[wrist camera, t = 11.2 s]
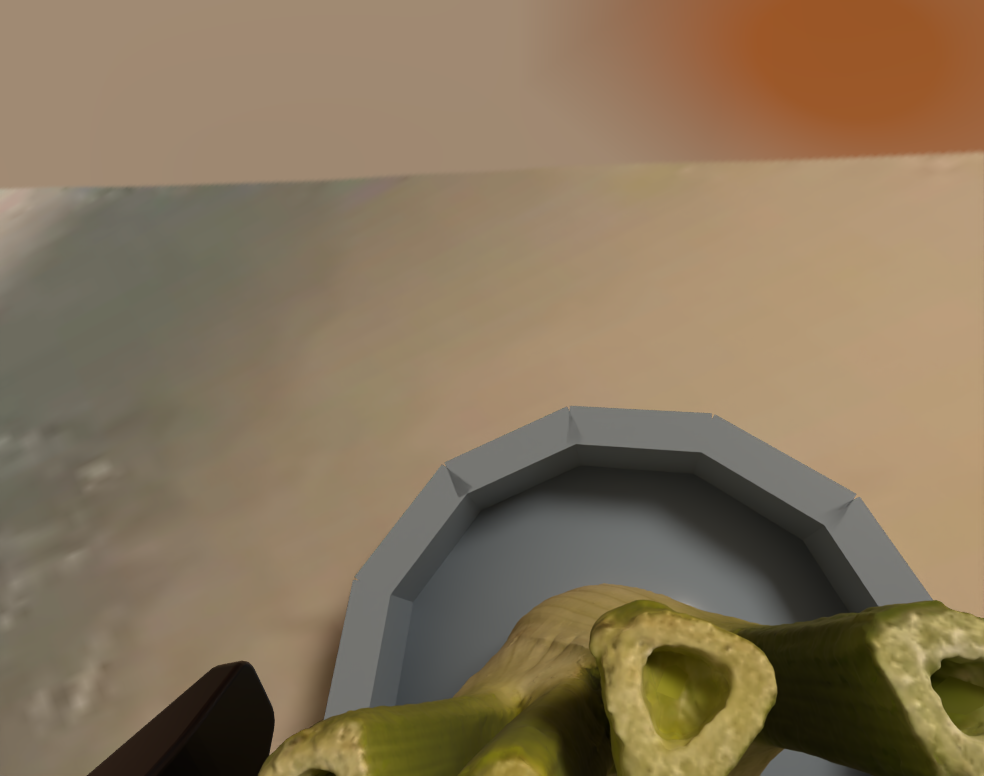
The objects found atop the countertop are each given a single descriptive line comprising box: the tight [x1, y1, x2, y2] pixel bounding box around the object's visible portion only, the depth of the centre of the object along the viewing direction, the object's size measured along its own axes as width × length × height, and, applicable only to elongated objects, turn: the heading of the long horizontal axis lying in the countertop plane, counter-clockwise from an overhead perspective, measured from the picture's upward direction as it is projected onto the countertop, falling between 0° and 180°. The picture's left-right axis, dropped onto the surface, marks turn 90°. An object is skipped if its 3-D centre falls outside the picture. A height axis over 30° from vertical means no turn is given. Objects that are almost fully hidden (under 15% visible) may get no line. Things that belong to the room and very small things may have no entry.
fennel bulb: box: [258, 583, 984, 776], centre depth 9 cm, size 6×5×12 cm
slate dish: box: [324, 406, 933, 776], centre depth 14 cm, size 13×13×3 cm
